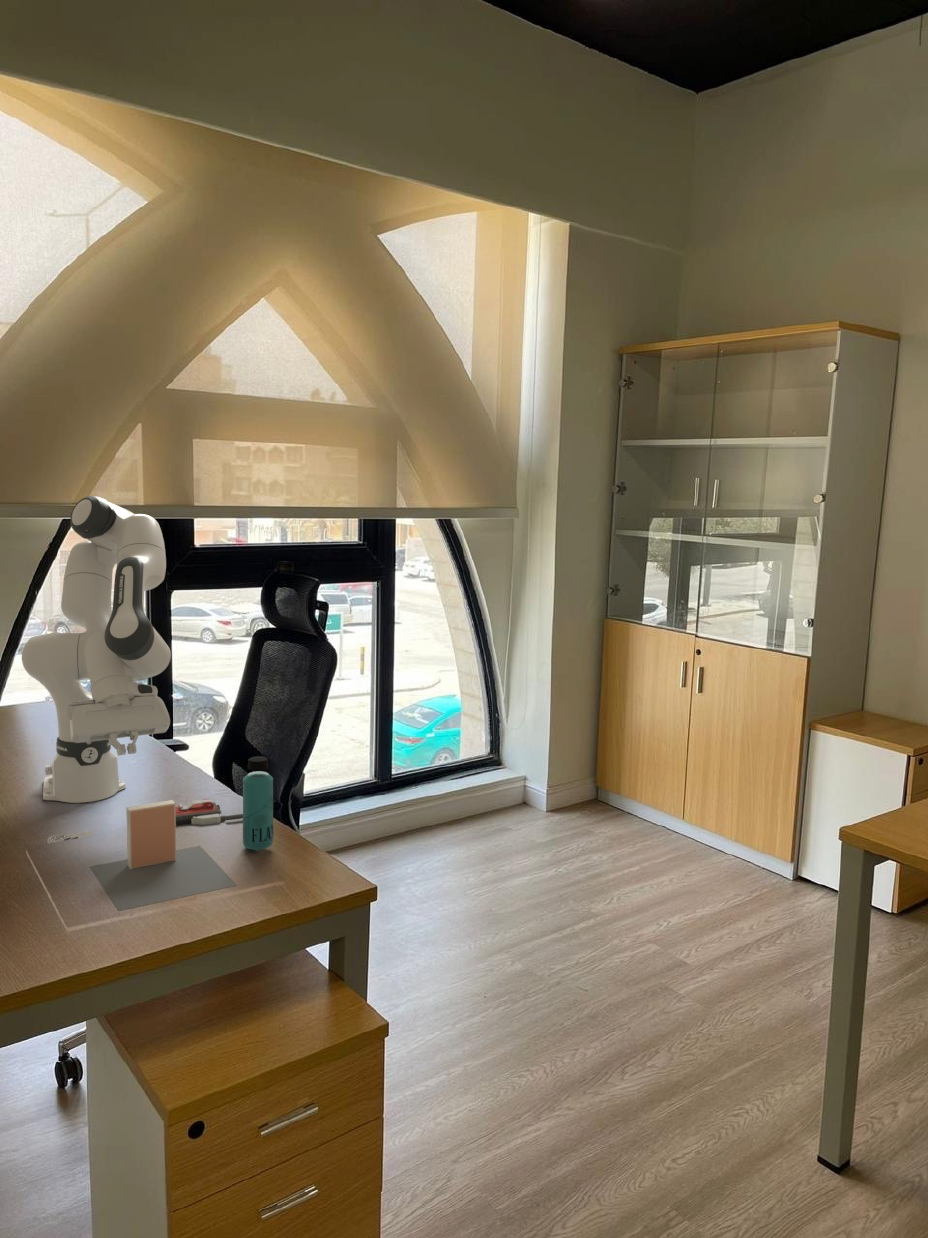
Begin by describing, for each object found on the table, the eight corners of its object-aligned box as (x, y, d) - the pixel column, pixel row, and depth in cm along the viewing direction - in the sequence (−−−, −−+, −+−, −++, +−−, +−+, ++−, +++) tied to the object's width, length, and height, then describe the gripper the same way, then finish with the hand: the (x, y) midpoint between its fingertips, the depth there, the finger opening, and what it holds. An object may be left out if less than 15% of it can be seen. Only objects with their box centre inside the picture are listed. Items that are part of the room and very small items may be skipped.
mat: (89, 868, 190) (89, 866, 190) (199, 848, 202) (199, 845, 202) (118, 913, 172) (118, 911, 172) (237, 887, 184) (237, 885, 184)
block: (127, 865, 191) (126, 807, 190) (173, 856, 196) (172, 800, 194) (130, 869, 190) (129, 811, 188) (176, 860, 194) (175, 803, 193)
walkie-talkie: (164, 834, 210) (256, 821, 219) (164, 814, 210) (256, 803, 219) (158, 820, 218) (246, 809, 227) (157, 801, 217) (246, 790, 226)
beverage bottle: (248, 859, 198) (248, 764, 195) (237, 847, 203) (237, 755, 200) (278, 853, 201) (279, 760, 198) (267, 842, 207) (267, 751, 204)
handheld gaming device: (92, 830, 209) (93, 857, 195) (92, 833, 209) (93, 860, 195) (47, 834, 206) (45, 862, 192) (47, 838, 206) (45, 865, 192)
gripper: (65, 695, 203) (77, 752, 197) (163, 685, 214) (177, 739, 208) (62, 710, 208) (73, 767, 201) (158, 701, 219) (171, 754, 212)
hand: (127, 753), depth 205 cm, fingers closed
